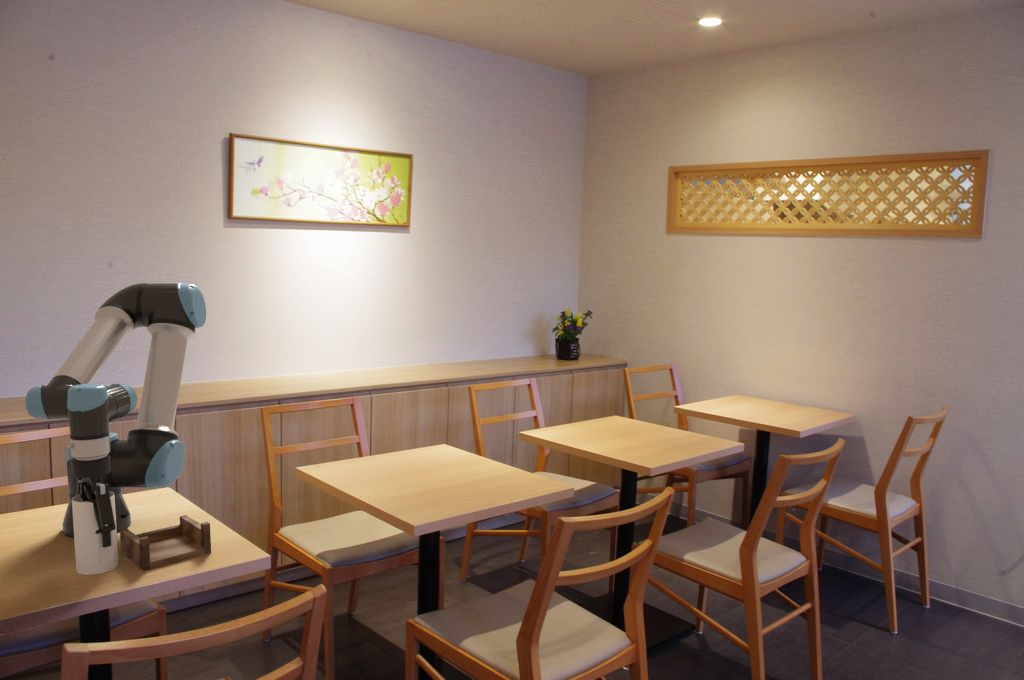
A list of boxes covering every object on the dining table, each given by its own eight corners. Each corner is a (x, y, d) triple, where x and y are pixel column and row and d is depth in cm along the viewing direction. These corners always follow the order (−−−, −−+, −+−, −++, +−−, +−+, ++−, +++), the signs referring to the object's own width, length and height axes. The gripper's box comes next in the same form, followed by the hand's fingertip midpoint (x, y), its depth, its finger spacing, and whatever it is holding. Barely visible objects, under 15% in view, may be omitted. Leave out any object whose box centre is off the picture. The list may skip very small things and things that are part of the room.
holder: (121, 553, 182) (119, 523, 181) (186, 536, 192) (185, 508, 192) (143, 570, 172) (141, 539, 171) (211, 552, 182) (209, 523, 182)
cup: (89, 578, 168) (85, 504, 167) (68, 569, 173) (63, 498, 171) (126, 565, 175) (122, 494, 174) (104, 557, 180) (100, 488, 178)
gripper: (55, 448, 177) (61, 541, 180) (89, 470, 160) (95, 573, 162) (92, 443, 182) (97, 533, 185) (128, 463, 165) (134, 563, 168)
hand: (96, 552), depth 174 cm, fingers open, 12 cm apart
